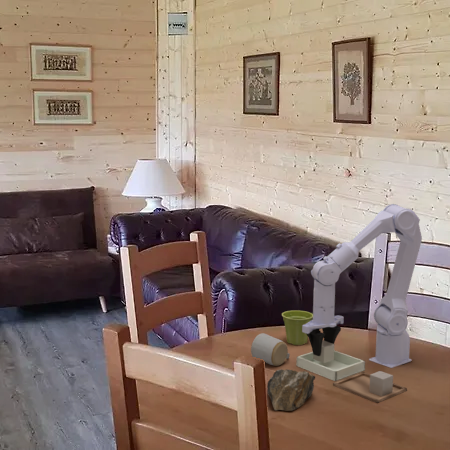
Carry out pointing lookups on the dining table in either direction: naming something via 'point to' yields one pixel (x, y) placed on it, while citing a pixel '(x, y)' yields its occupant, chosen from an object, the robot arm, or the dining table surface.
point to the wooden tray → (365, 387)
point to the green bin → (332, 365)
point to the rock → (290, 389)
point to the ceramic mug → (269, 349)
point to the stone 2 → (381, 383)
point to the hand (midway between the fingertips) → (322, 353)
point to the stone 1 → (325, 352)
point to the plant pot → (296, 326)
